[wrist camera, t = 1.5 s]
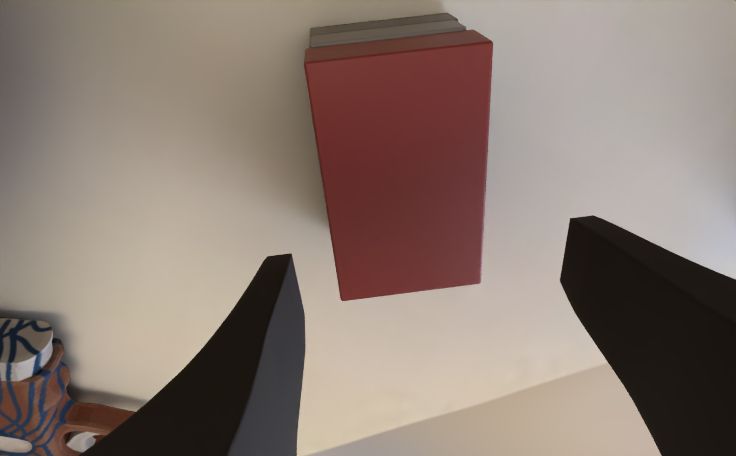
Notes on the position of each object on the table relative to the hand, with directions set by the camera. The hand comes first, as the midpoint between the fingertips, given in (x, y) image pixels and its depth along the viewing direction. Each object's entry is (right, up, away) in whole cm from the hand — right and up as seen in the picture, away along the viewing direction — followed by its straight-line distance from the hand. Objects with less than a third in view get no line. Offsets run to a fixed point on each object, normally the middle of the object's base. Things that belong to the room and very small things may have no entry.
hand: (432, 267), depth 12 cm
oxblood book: (-1, +3, +5) cm, 6 cm away
